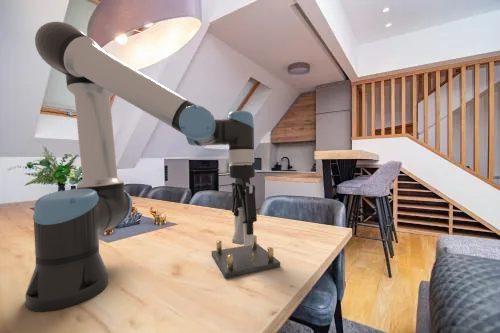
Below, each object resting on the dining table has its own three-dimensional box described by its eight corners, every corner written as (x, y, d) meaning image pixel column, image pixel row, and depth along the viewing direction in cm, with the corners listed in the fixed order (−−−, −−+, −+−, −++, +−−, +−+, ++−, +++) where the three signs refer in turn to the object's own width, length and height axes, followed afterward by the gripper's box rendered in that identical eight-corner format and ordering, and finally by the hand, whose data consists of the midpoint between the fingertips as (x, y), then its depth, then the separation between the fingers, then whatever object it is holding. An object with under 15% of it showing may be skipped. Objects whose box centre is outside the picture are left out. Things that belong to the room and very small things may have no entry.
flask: (253, 246, 65) (252, 210, 65) (228, 245, 66) (227, 210, 66) (257, 237, 72) (257, 206, 72) (235, 237, 73) (234, 205, 73)
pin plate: (225, 278, 59) (224, 259, 59) (211, 255, 74) (211, 240, 73) (280, 267, 65) (280, 249, 65) (257, 248, 79) (257, 233, 79)
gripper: (268, 164, 61) (270, 250, 61) (242, 164, 80) (243, 230, 80) (241, 164, 58) (243, 255, 58) (221, 164, 77) (222, 233, 77)
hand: (243, 240), depth 69 cm, fingers closed on flask, 7 cm apart
